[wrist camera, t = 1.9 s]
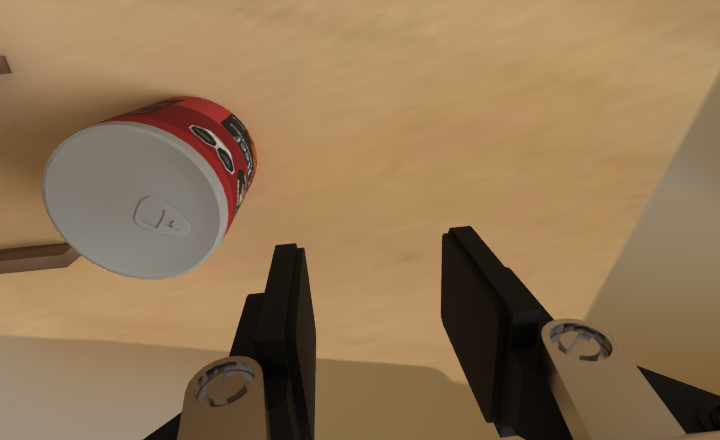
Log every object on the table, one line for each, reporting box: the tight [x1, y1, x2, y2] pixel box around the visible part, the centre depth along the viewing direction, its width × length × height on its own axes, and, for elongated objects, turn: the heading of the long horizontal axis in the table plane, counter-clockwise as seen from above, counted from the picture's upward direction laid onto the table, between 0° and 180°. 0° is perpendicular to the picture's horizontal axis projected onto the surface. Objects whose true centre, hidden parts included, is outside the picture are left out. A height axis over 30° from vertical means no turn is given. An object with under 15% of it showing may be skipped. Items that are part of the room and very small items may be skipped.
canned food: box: [42, 97, 257, 280], centre depth 23 cm, size 8×8×11 cm
